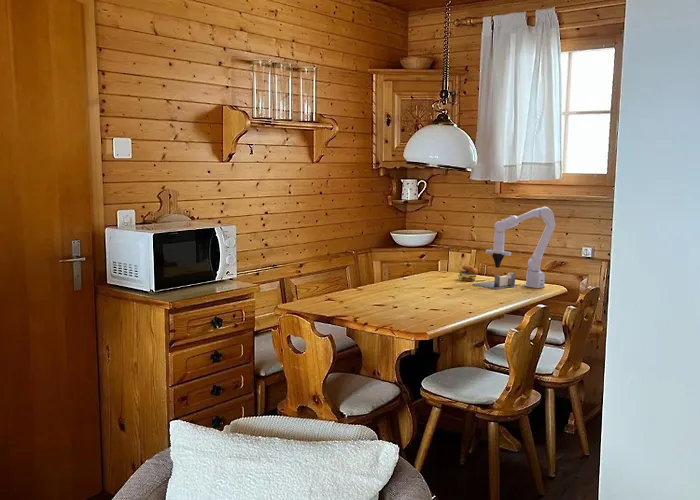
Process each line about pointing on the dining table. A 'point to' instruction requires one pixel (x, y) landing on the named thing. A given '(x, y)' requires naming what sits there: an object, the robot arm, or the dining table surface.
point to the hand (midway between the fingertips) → (497, 267)
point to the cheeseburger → (470, 275)
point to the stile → (511, 279)
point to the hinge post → (496, 281)
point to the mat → (491, 285)
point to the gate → (504, 280)
